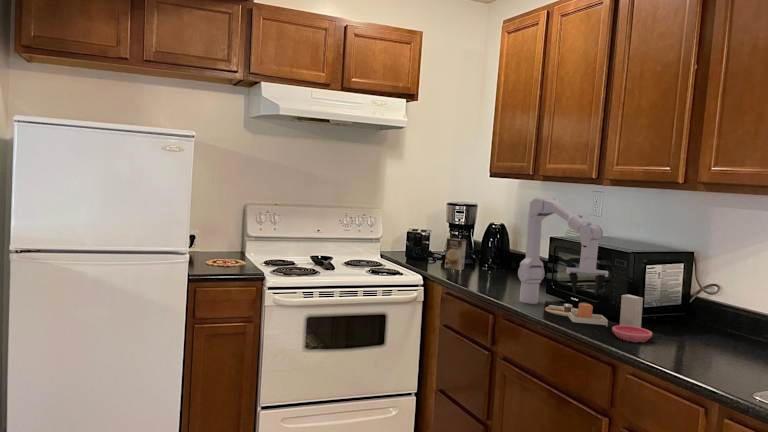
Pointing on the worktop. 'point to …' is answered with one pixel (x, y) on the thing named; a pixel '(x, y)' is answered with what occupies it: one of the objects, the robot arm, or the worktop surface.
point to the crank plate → (560, 311)
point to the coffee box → (455, 253)
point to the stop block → (585, 311)
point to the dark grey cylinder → (564, 306)
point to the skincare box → (631, 310)
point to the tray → (588, 319)
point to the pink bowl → (632, 333)
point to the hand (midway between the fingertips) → (585, 294)
